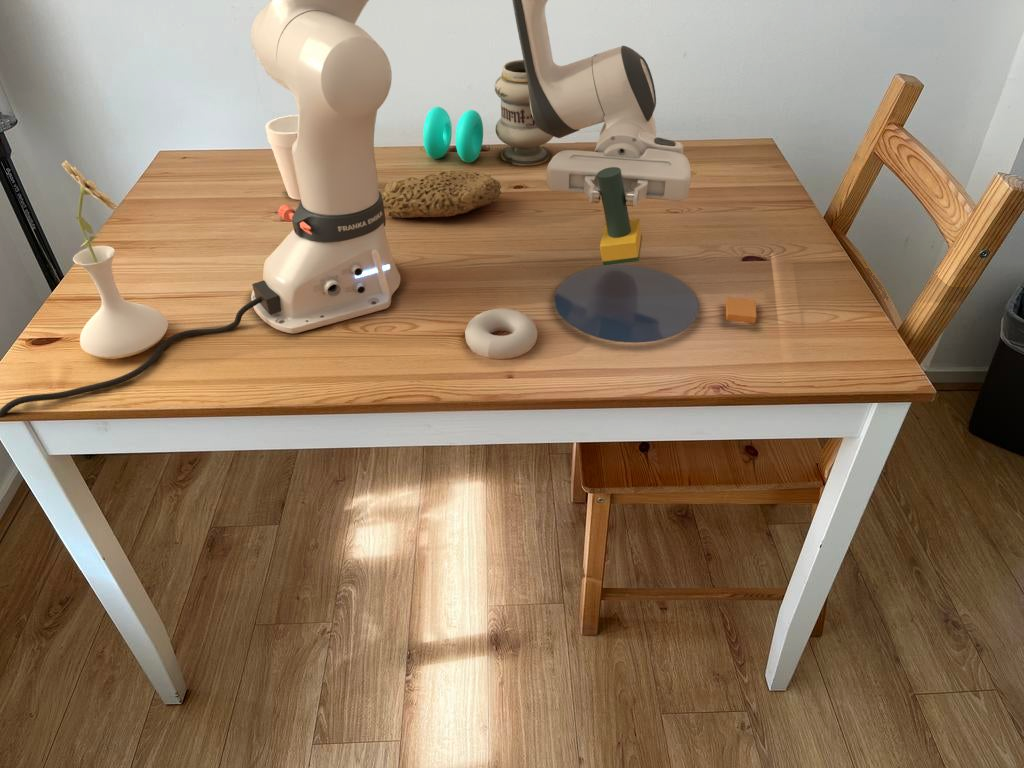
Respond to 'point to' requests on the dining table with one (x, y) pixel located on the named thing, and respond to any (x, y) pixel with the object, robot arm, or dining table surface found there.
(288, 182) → the foam cup
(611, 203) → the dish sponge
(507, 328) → the donut
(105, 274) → the flower in vase
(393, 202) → the sponge
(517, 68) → the apothecary jar
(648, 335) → the plate
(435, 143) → the donuts
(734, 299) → the orange block
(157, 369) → the dining table surface
